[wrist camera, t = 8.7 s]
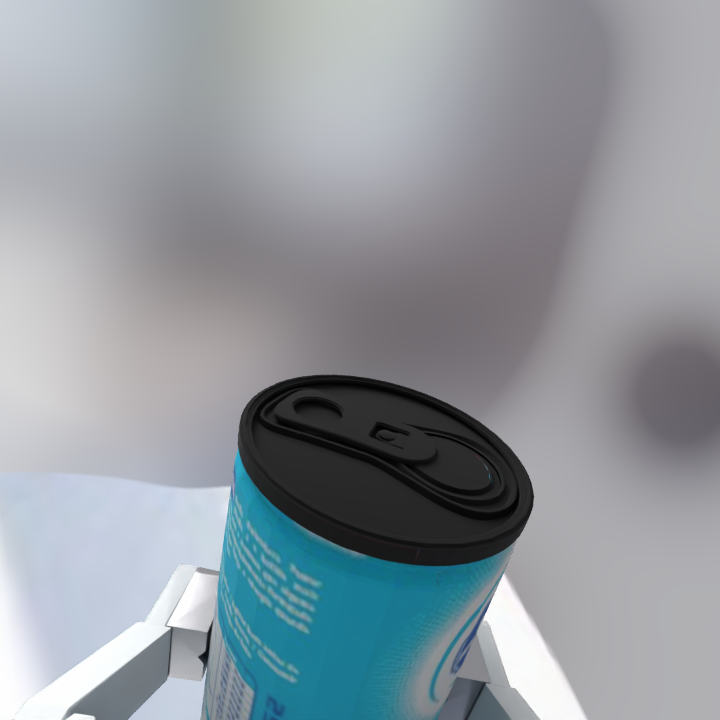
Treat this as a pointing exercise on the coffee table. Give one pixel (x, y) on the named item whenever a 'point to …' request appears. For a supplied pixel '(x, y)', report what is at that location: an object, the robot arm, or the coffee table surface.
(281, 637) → the beverage can
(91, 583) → the coffee table surface
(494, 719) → the robot arm
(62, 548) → the coffee table surface
